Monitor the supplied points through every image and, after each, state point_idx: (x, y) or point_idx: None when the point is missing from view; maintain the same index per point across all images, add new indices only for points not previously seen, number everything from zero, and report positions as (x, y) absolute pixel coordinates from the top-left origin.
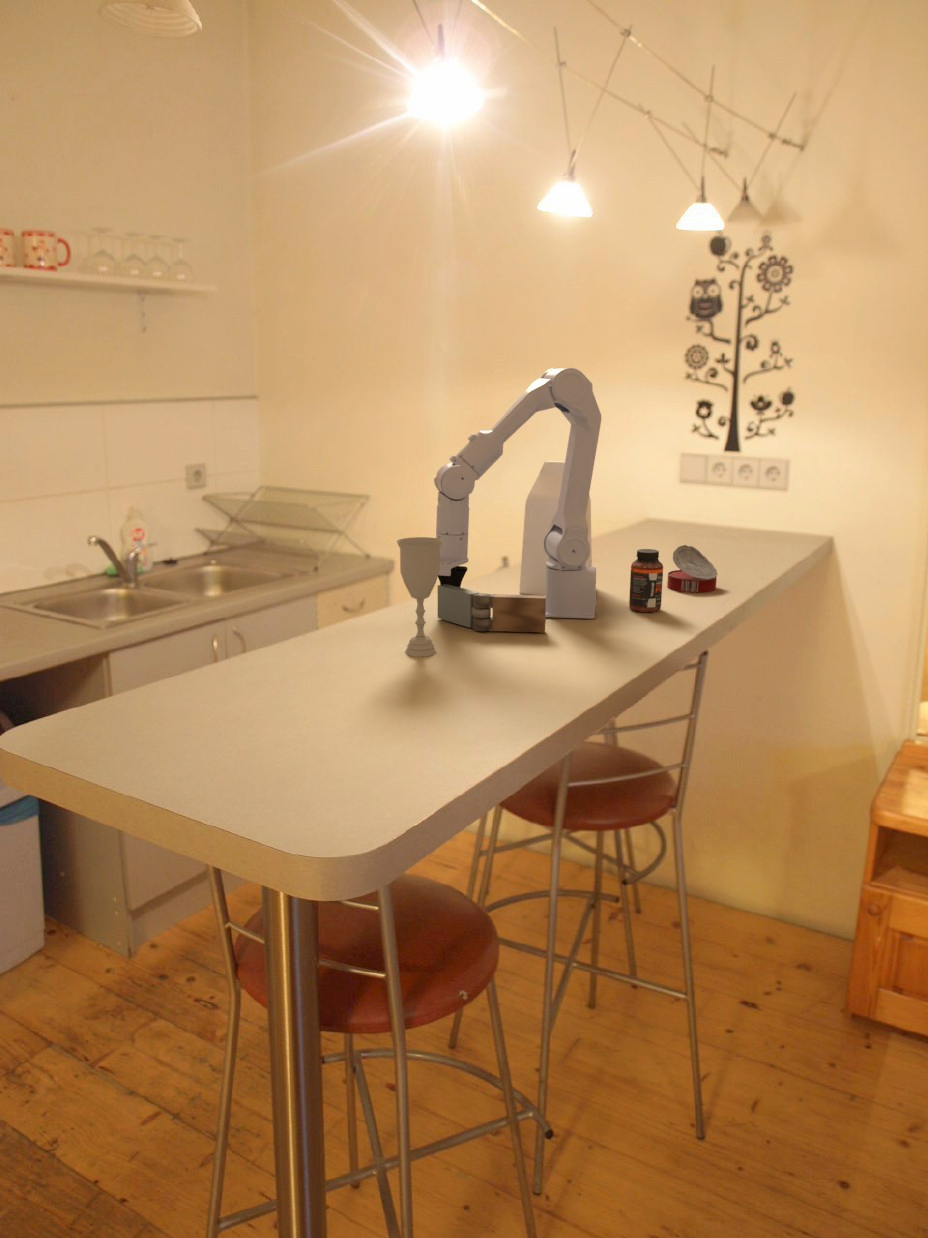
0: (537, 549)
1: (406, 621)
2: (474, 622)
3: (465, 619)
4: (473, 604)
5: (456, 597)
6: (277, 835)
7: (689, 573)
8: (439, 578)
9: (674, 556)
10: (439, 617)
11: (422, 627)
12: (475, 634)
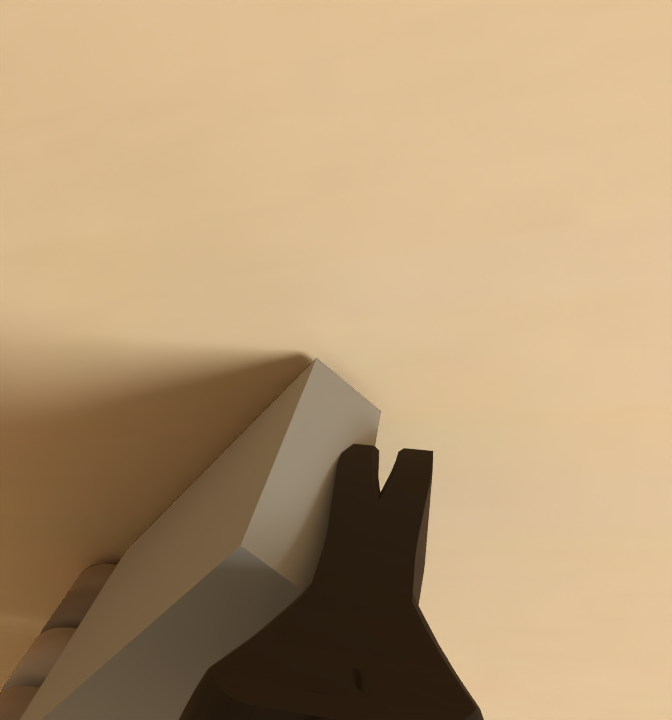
0: None
1: (210, 107)
2: (61, 604)
3: (127, 560)
4: (9, 701)
5: (106, 631)
6: None
7: None
8: (264, 628)
9: None
10: (302, 375)
11: None
12: (49, 564)
